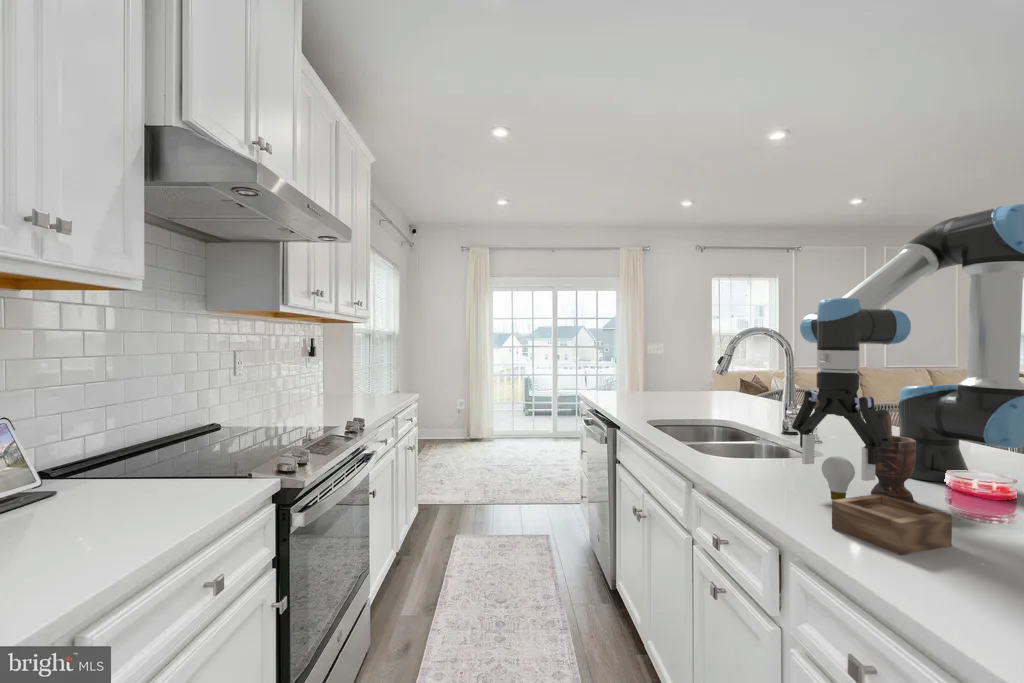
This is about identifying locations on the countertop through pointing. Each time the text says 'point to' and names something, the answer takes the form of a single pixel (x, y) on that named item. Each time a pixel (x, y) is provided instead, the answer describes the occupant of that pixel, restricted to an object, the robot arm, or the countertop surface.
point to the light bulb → (838, 475)
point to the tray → (892, 523)
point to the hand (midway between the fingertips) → (836, 471)
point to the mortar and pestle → (894, 463)
